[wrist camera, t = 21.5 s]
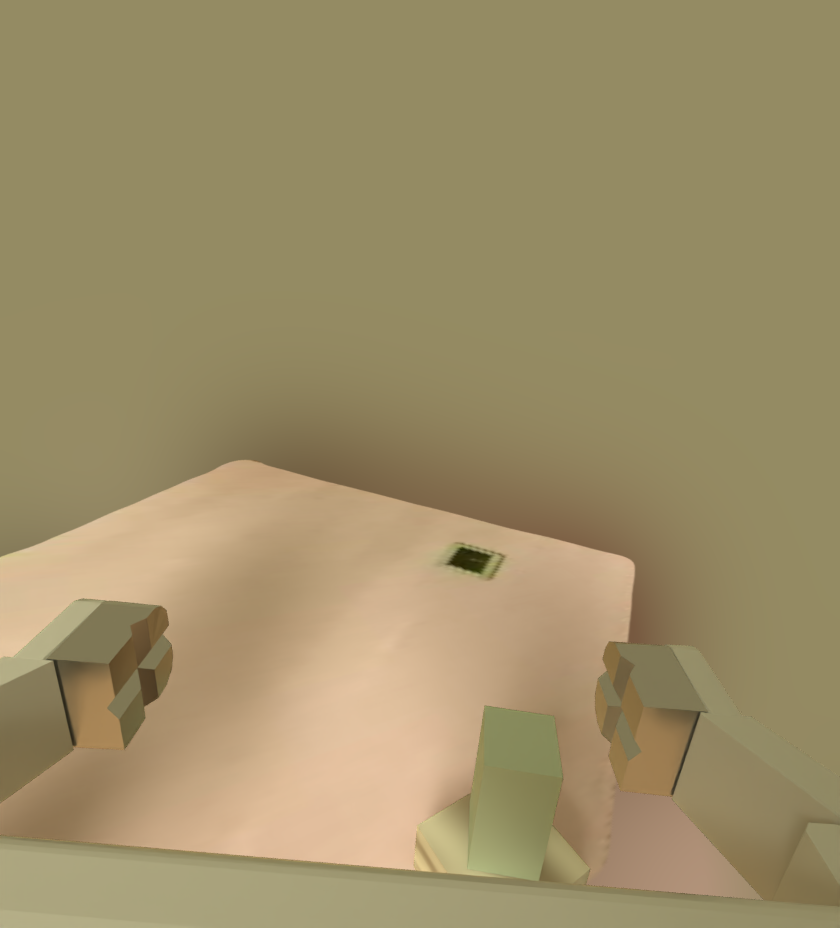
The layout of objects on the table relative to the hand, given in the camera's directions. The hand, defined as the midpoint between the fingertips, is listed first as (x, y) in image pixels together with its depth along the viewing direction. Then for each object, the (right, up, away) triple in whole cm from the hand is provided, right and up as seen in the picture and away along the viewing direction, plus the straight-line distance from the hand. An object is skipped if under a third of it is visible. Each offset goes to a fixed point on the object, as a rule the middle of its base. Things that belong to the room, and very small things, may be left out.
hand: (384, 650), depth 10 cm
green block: (+7, -25, +30) cm, 39 cm away
